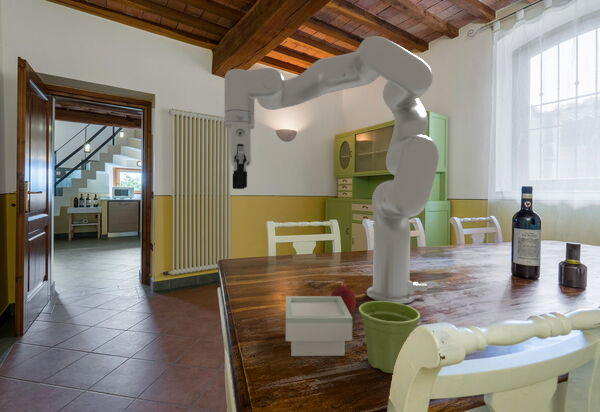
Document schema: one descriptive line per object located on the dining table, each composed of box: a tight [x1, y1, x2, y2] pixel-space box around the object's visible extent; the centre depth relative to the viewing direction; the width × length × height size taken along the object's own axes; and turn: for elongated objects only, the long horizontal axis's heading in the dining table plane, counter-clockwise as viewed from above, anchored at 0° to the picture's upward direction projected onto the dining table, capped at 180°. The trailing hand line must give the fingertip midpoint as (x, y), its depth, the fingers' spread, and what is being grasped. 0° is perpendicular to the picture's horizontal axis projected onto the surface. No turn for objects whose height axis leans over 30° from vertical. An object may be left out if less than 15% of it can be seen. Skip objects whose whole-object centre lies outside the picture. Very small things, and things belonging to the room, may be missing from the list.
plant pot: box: [358, 300, 421, 374], centre depth 48 cm, size 9×9×9 cm
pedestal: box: [285, 295, 353, 357], centre depth 55 cm, size 11×11×7 cm
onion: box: [330, 282, 357, 315], centre depth 66 cm, size 6×6×8 cm
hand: (239, 188), depth 77 cm, fingers open, 9 cm apart
